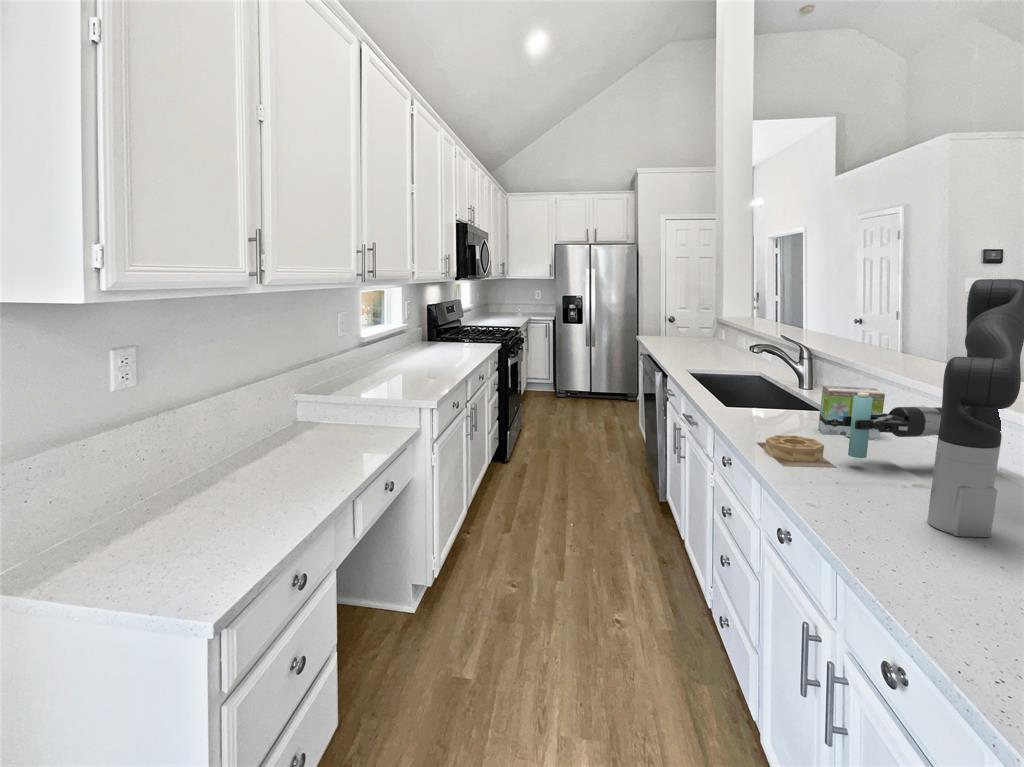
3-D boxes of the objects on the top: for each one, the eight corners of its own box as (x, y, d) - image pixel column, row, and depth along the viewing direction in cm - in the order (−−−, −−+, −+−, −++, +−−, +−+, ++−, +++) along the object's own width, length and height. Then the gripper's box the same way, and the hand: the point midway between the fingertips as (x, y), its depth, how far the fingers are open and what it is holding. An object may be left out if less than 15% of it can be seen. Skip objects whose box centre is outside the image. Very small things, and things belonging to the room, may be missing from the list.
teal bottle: (869, 458, 138) (876, 394, 135) (852, 457, 138) (858, 394, 136) (861, 453, 142) (867, 391, 139) (844, 453, 142) (850, 391, 140)
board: (836, 472, 141) (837, 467, 140) (783, 470, 142) (783, 466, 142) (801, 447, 162) (802, 443, 162) (755, 446, 164) (755, 442, 163)
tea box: (825, 437, 173) (829, 390, 171) (817, 429, 183) (821, 384, 180) (880, 440, 169) (885, 392, 166) (870, 432, 178) (874, 386, 176)
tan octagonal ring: (829, 462, 145) (830, 449, 144) (777, 460, 146) (778, 448, 146) (808, 447, 158) (809, 435, 157) (760, 446, 159) (761, 434, 158)
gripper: (895, 401, 146) (832, 402, 145) (940, 413, 132) (871, 414, 131) (892, 429, 147) (830, 430, 146) (936, 443, 133) (868, 445, 132)
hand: (850, 422), depth 139 cm, fingers closed on teal bottle, 4 cm apart
